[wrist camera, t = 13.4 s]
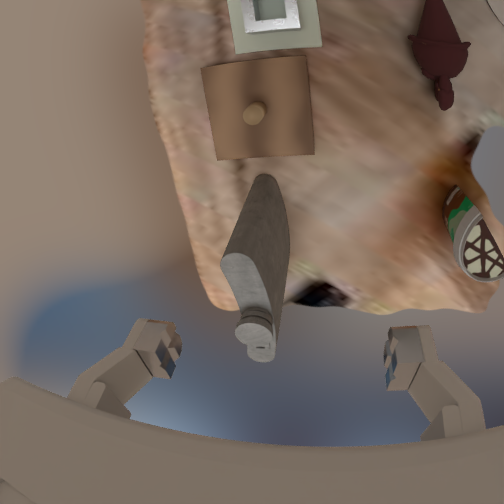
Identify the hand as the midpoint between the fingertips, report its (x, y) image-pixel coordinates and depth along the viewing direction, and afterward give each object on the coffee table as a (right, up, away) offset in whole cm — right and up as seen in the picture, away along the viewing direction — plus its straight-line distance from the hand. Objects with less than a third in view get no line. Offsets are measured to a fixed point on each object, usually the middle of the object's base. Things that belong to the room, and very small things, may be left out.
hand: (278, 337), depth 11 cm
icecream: (+20, +27, +15) cm, 37 cm away
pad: (+1, +30, +16) cm, 35 cm away
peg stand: (0, +21, +24) cm, 32 cm away
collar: (+1, +30, +16) cm, 34 cm away
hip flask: (+2, +7, +34) cm, 35 cm away
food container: (+29, +8, +27) cm, 40 cm away
